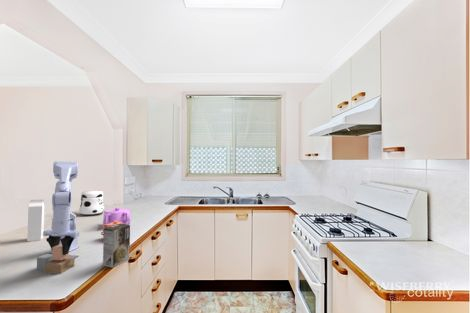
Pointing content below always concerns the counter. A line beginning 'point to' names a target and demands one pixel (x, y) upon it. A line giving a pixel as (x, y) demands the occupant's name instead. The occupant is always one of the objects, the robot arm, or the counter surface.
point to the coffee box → (116, 245)
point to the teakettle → (117, 216)
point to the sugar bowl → (110, 225)
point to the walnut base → (59, 265)
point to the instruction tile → (73, 256)
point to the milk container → (91, 203)
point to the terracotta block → (58, 253)
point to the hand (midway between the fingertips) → (60, 253)
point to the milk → (35, 220)
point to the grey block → (43, 261)
